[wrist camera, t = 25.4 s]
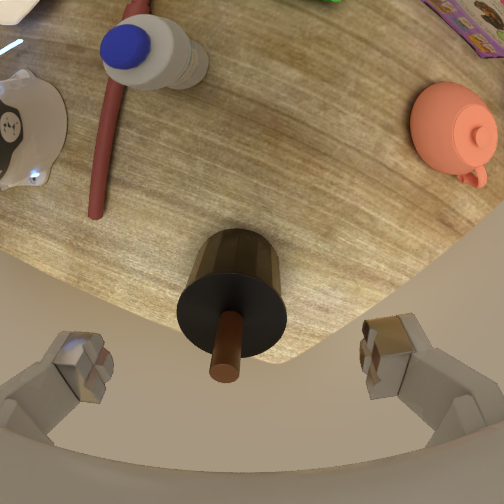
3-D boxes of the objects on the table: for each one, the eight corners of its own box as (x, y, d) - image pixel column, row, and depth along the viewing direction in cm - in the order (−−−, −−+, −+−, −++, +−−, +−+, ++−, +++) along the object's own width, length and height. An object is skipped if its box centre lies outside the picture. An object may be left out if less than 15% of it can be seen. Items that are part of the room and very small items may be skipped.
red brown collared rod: (171, -82, 22) (165, -92, 20) (193, -81, 23) (188, -91, 20) (90, 210, 43) (80, 218, 40) (109, 215, 43) (99, 224, 40)
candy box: (494, 35, 27) (571, 32, 13) (481, 59, 30) (561, 62, 15) (426, -31, 24) (492, -66, 10) (410, -8, 27) (478, -42, 12)
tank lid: (191, 353, 40) (178, 409, 32) (167, 271, 34) (141, 325, 26) (288, 348, 39) (292, 407, 31) (283, 262, 33) (289, 319, 25)
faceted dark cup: (205, 301, 49) (192, 353, 39) (190, 232, 44) (169, 276, 34) (281, 296, 48) (284, 349, 38) (275, 224, 43) (279, 268, 33)
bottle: (191, 101, 36) (128, 109, 18) (149, 74, 34) (59, 67, 16) (224, 58, 33) (187, 22, 15) (180, 31, 31) (110, -15, 14)
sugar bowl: (460, 73, 31) (506, 75, 22) (483, 164, 37) (525, 185, 28) (390, 94, 34) (427, 97, 25) (420, 191, 40) (456, 218, 31)
